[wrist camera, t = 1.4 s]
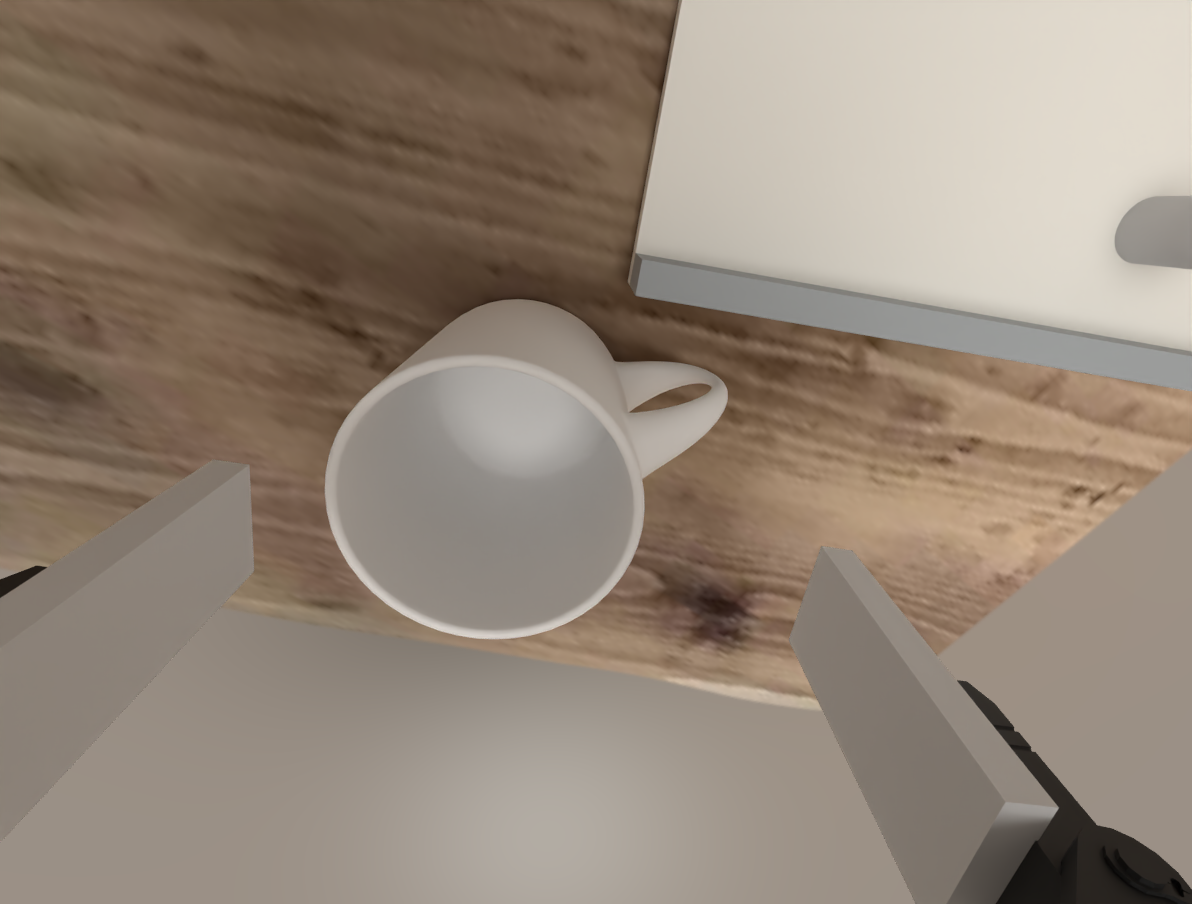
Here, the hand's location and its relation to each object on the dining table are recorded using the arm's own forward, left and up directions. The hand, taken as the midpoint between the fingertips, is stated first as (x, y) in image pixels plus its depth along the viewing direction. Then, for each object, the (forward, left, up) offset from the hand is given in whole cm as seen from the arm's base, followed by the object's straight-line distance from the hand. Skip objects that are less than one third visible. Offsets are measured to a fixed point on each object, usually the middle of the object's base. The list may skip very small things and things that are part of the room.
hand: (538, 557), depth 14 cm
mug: (0, 0, -13) cm, 13 cm away
